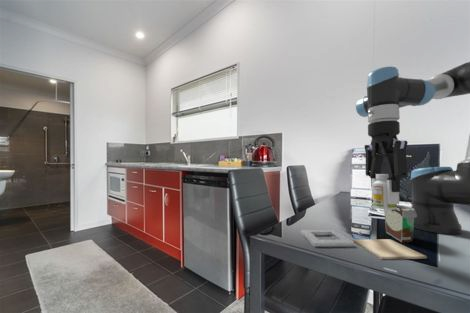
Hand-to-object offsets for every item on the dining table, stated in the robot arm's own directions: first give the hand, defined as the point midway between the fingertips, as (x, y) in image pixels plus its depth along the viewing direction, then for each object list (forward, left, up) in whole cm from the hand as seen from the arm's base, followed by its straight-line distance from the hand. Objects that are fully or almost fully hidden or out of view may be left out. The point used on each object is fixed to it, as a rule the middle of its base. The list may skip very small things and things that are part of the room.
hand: (384, 201), depth 59 cm
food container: (-13, -9, -14) cm, 21 cm away
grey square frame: (+14, -8, -14) cm, 21 cm away
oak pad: (0, 0, -14) cm, 14 cm away
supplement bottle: (0, 0, -2) cm, 2 cm away
